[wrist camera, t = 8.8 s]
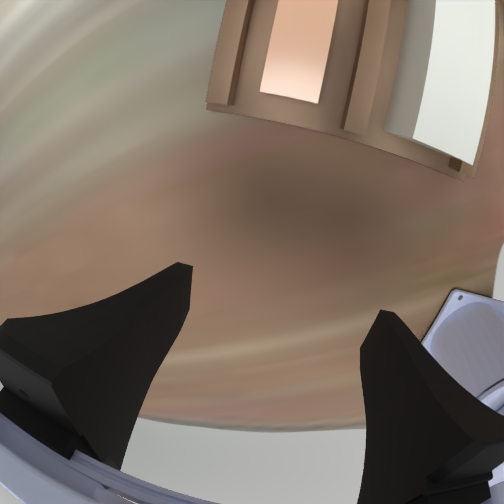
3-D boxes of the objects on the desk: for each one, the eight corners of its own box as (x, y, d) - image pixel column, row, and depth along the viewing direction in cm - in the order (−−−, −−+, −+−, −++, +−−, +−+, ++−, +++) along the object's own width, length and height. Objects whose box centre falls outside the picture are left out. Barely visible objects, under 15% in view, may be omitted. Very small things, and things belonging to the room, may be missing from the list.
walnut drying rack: (484, 9, 10) (502, 1, 7) (457, 178, 16) (475, 188, 14) (250, -64, 11) (243, -82, 8) (210, 109, 17) (197, 109, 15)
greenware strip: (456, -6, 9) (493, -28, 5) (432, 149, 15) (472, 165, 11) (409, -29, 10) (436, -60, 5) (383, 130, 15) (412, 138, 11)
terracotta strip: (343, -43, 10) (347, -58, 8) (315, 104, 15) (317, 103, 13) (295, -53, 10) (294, -68, 8) (264, 93, 15) (259, 91, 14)
